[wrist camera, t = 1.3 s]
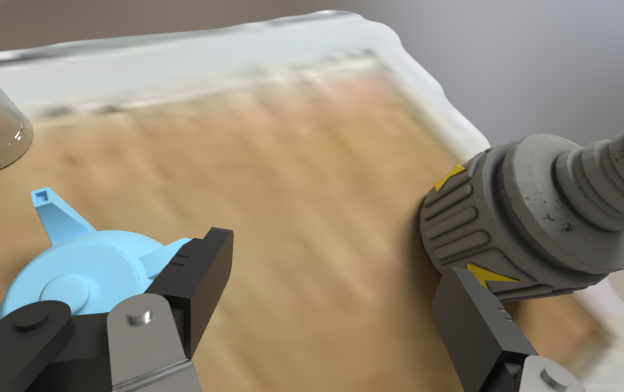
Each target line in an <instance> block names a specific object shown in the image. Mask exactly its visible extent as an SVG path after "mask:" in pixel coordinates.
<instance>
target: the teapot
mask: <svg viewBox="0 0 624 392" xmlns="http://www.w3.org/2000/svg"><path fill="white" fill-rule="evenodd" d="M31 197H32V201H33V206H34V208H35V209H36V210H37V213H38V215H39V217H40V219H41V222H42V224H43V226H44V228H45V231H46V233H47V235H48V237H49V240H50V242H51V245H52V247H51V248H49V249H47V250H45V251H44V252H42V253H41V254H40V255H38V256H37V257H35V258H34V259H33V260H32V261H31V262H30V263H28V264H27V265H26V266H25V267H24V268H23V269H22V270H21V271H20V272H19V274H18V275H17V276H16V278H15V279H14V280H13V281H12V283H11V285H10V286H9V288H8V290H7V291H6V293H5V295H4V298H3V300H2V302H1V306H0V319H2V318H3V317H4V316H6V315H7V314H9V313H10V312H12V311H14V310H16V309H18V308H20V307H22V306H25V305H27V304H30V303H34V302H38V301H44V300H58V301H62V302H65V303H66V304H68V305H69V306H70V309H71V312H72V316H73V315H84V314H95V313H104V312H110V311H111V310H112V309H113V307H115V306H116V305H117V304H118V303H120V302H121V301H123V300H124V299H126V298H129V297H131V296H134V295H138V294H143V293H144V292H145V290H146V289H147V288H148V287H149V285H150V284H151V283H152V282H153V281H154V279H155V278H156V277H157V276H158V274H159V273H160V272H161V271H162V270H163V268H164V267H165V266H166V265H167V264H168V263H169V261H170V260H171V259H172V257H173V256H175V254H176V252H177V251H178V250H179V249H180V248H181V246H182V245H183V244H185V243H187V242H189V241H190V240H191V239H188V238H183V239H180V240H178V241H176V242H174V243H171V244H169V245H167V246H165V247H164V246H163V245H162V244H160V243H159V242H157V241H155V240H153V239H151V238H149V237H146V236H144V235H141V234H137V233H133V232H128V231H119V230H105V231H97V230H96V229H95V228H93V227H92V226H91V225H90V224H89V223H88V222H87V221H86V220H85V219H83V218H82V217H81V216H80V215H79V214H78V213H77V212H76V211H75V210H73V209H72V208H71V207H70V206H69V205H68V204H67V203H66V202H65V201H63V200H62V199H61V198H60V197H59V196H58V195H57V194H56V193H55V192H53V191H52V190H51V189H50V188H49V187H46V188H42V189H38V190H34V191H31Z"/></svg>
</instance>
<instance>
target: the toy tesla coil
mask: <svg viewBox="0 0 624 392" xmlns="http://www.w3.org/2000/svg"><path fill="white" fill-rule="evenodd" d="M420 233H421V237H422V240H423V244H424V248H425V250H426V252H427V254H428V256H429V258H430V259H431V261H432V263H433V265H434V267H435V268H436V269H437V270H438V271H439V272H440V274H441V275H442V276H443V273H444V271H445V269H446V268H447V267H454V268H460V269H466V270H470V271H472V272H473V274H474V275H475V277H476V278H477V279H478V281H479V282H480V284H481V285H482V286H484V287H486V288H487V289H488V290H489V291H490V292H491V293H493V294H494V295H495V296H496V297H497V298H498V299H499V300H500V302H512V301H520V300H528V299H536V298H543V297H551V296H559V295H567V294H572V293H573V291H576V290H582V289H585V288H587V287H589V286H591V285H596V284H597V283H598V282H600V281H601V280H603V279H604V278H605V277H607V276H608V275H609V273H611V272H615V271H619V270H623V269H624V134H622V135H619V136H616V137H614V138H612V139H611V140H602V141H598V142H595V143H592V144H589V145H586V146H585V147H580V146H578V145H577V144H575V143H574V142H572V141H569V140H567V139H564V138H562V137H559V136H557V135H550V134H540V133H539V134H534V135H531V136H528V137H525V138H523V139H521V140H520V141H518V142H517V141H510V142H507V143H504V144H501V145H498V146H496V147H495V148H493V147H492V148H489V149H487V150H485V151H484V152H481V153H479V154H477V155H476V156H475V157H473V158H472V159H470V160H469V161H468V162H466V163H465V164H464V165H462V166H460V165H456V166H455V167H454V169H453V170H452V171H451V172H450V173H449V174H448V175H447V176H446V177H445V178H444V179H443V180H441V181H439V182H437V183H435V186H434V187H433V188H432V189H431V190H430V191H429V192H428V195H427V197H426V200H425V202H424V204H423V207H422V209H421V212H420Z"/></svg>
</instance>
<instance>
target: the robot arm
mask: <svg viewBox="0 0 624 392" xmlns="http://www.w3.org/2000/svg"><path fill="white" fill-rule="evenodd" d="M32 136H33V130H32V126H31V124H30V122H29V120H28V119H27V118H26V117H25V116H24V115H23V113H22V112H21V111H20V110H19V109H18V108H17V107H16V106H15V104H14V103H13V102H12V101H11V100H10V99H9V98H8V96H7V95H6V94H5V93H4V92H3V91H2V90H1V88H0V168H3V167H5V166H7V165H9V164H11V163H12V162H14V161H15V160H17V159H18V158H19V157H20V156H22V155H23V153H24V152H25V151H26V150H27V149H28V147H29V145H30V143H31V141H32ZM233 238H234V233H233V230H228V229H222V228H216V227H212V228H211V229H210V230H209V232H208V233H207V234H206V236H205V237H204V239H198V238H194V239H192V240H190V241H189V242H187V243H185V244H183V245H182V246H181V248H180V249H179V250H178V251H177V252H176V254H175V256H173V257H172V259H171V260H170V261H169V263H168V264H167V265H166V266H165V267H164V268H163V270H162V271H161V272H160V273H159V274H158V276H157V277H156V278H155V279H154V281H153V282H152V283H151V284H150V285H149V287H148V288H147V289H146V290H145V292H144V293H143V294H138V295H134V296H131V297H129V298H126V299H124V300H123V301H121V302H120V303H118V304H117V305H116V306H115V307H113V309H112V310H111V311H110V312H104V313H95V314H84V315H73V316H72V312H71V309H70V306H69V305H68V304H66V303H65V302H62V301H58V300H44V301H38V302H34V303H30V304H27V305H25V306H22V307H20V308H18V309H16V310H14V311H12V312H10V313H9V314H7V315H6V316H4V317H3V318H2V319H0V392H203V391H202V388H201V385H200V382H199V379H198V376H197V373H196V370H195V367H194V365H193V363H192V361H191V359H192V357H193V354H194V352H195V350H196V348H197V346H198V344H199V342H200V340H201V337H202V335H203V333H204V331H205V329H206V327H207V325H208V322H209V320H210V318H211V316H212V314H213V312H214V310H215V308H216V305H217V303H218V301H219V299H220V297H221V295H222V293H223V290H224V288H225V286H226V284H227V282H228V279H229V276H230V272H231V267H232V254H233ZM432 314H433V317H434V319H435V322H436V324H437V326H438V329H439V331H440V334H441V336H442V338H443V341H444V343H445V346H446V348H447V350H448V353H449V355H450V358H451V360H452V362H453V365H454V367H455V370H456V372H457V374H458V377H459V379H460V382H461V384H462V386H463V389H464V391H465V392H586V391H585V389H584V387H583V386H582V385H581V383H580V382H579V381H578V380H577V379H576V378H575V377H574V376H573V375H572V374H571V373H570V372H569V371H567V370H566V369H565V368H563V367H562V366H561V365H559V364H557V363H556V362H554V361H552V360H550V359H547V358H545V357H542V356H539V355H538V353H537V352H536V350H535V349H534V348H533V346H532V345H531V344H530V342H529V341H528V339H527V338H526V337H525V335H524V334H523V333H522V331H521V330H520V328H519V327H518V326H517V324H516V323H515V321H512V317H511V316H510V315H509V313H508V312H507V311H505V308H504V306H503V305H502V304H501V302H500V301H499V299H498V298H497V297H496V296H495V295H494V294H493V293H491V292H490V291H489V290H488V289H487V288H486V287H484V286H482V285H481V284H480V282H479V281H478V279H477V278H476V277H475V275H474V274H473V272H472V271H470V270H466V269H460V268H454V267H447V268H446V269H445V271H444V273H443V276H442V278H441V280H440V283H439V285H438V288H437V290H436V292H435V295H434V297H433V300H432ZM187 359H189V360H187Z"/></svg>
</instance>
